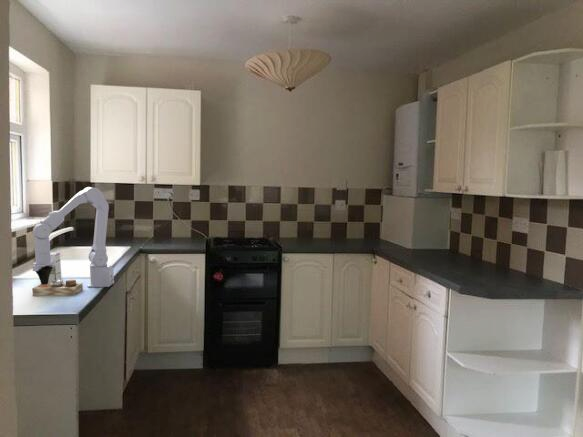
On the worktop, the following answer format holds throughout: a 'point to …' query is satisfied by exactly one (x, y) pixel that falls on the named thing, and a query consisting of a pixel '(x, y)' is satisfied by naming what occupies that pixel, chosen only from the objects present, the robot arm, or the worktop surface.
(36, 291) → the light wooden flat frame
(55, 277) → the syrup box
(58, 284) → the steel button
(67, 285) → the walnut button
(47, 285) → the terracotta button
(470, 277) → the worktop surface
